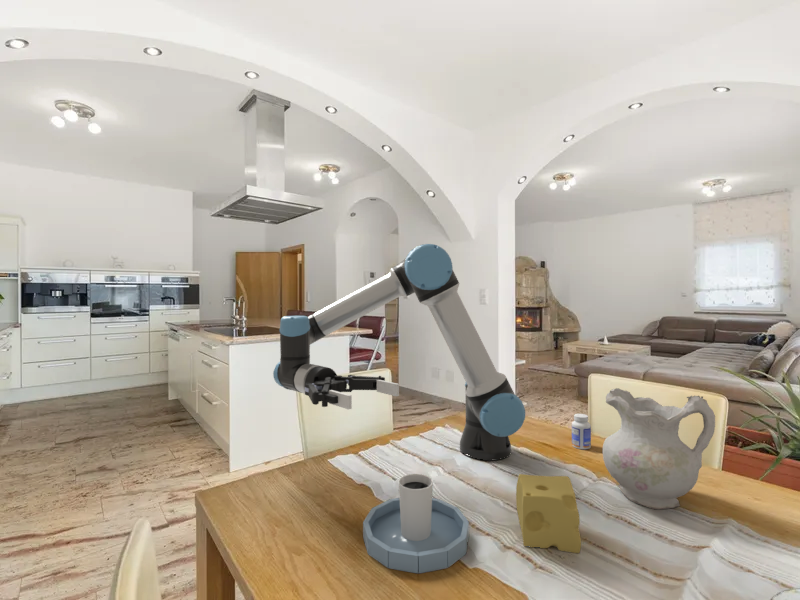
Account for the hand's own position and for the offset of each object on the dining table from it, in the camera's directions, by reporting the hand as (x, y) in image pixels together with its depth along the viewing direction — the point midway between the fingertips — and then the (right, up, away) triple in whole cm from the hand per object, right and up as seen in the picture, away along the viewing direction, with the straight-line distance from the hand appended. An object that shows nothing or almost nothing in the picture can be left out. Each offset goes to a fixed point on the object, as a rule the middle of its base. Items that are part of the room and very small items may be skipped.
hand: (375, 395), depth 86 cm
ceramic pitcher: (+64, -26, +9) cm, 70 cm away
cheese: (+34, -26, -5) cm, 43 cm away
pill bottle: (+61, -25, +40) cm, 77 cm away
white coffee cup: (+8, -25, -6) cm, 27 cm away
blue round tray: (+8, -26, -6) cm, 28 cm away
